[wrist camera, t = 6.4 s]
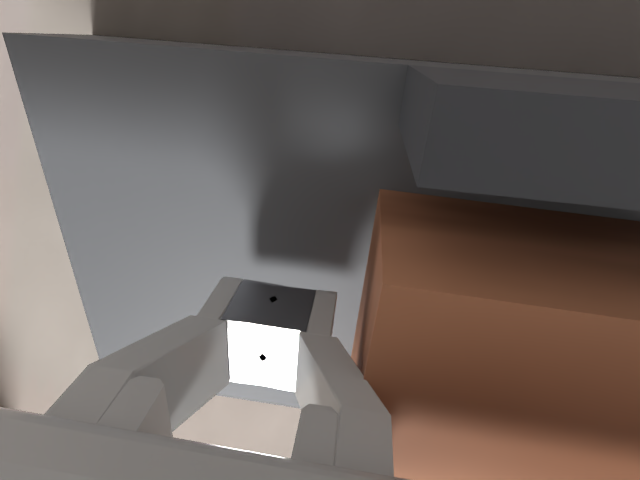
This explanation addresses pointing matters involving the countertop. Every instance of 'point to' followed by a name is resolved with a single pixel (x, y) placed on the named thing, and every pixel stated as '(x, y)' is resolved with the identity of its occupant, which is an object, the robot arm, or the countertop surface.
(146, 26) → the countertop surface
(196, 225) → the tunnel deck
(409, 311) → the terracotta block
